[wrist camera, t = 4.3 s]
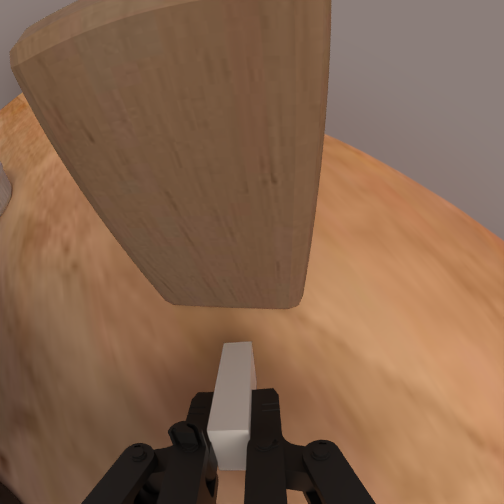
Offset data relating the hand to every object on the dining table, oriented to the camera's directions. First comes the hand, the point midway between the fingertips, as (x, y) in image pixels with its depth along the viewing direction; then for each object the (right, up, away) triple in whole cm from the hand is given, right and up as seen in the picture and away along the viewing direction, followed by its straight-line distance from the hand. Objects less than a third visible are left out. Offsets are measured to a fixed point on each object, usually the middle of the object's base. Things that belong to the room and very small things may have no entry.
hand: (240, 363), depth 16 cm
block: (0, +6, +8) cm, 10 cm away
